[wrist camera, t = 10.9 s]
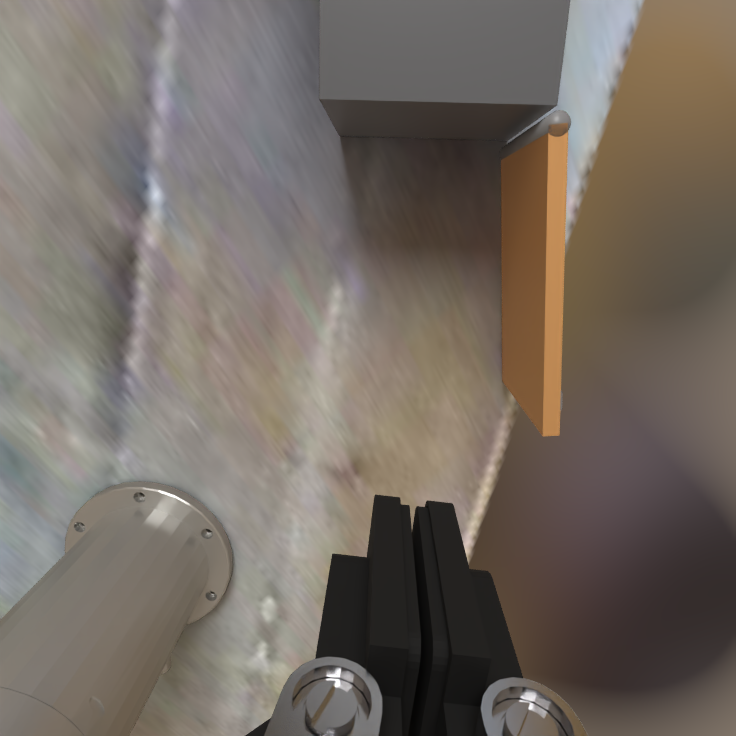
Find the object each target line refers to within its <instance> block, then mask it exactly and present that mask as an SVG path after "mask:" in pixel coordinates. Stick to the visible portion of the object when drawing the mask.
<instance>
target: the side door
mask: <svg viewBox="0 0 736 736" xmlns="http://www.w3.org/2000/svg"><path fill="white" fill-rule="evenodd" d="M570 125H571V119H570V116H569V115H568V114H567V113H566V112H565V111H561V110H558V111H555V112H553V113H552V114H550V115H549V116H547V117H546V118H544V119H543V120H541V121H540V122H538V123H537V124H536V125H534V126H533V127H531V128H530V129H528V130H527V131H525V132H524V133H523V134H521V135H520V136H518V137H517V138H515V139H514V140H512V141H511V142H509V143H508V144H507V145H505V146H504V147H502V149H501V150H500V153H499V157H500V159H501V237H502V381H503V383H504V384H505V385H506V387H507V388H508V389H509V391H510V392H511V394H512V395H513V396H514V398H515V399H516V400H517V402H518V403H519V404H520V406H521V407H522V409H523V410H524V411H525V413H526V414H527V415H528V417H529V418H530V419H531V421H532V422H533V424H534V425H535V426H536V428H537V429H538V430H539V432H540V433H541V434H542V436H556V435H559V433H560V410H562V393H563V392H562V391H561V363H562V362H561V361H562V328H563V292H564V257H565V222H566V187H567V152H568V130H569V128H570Z"/></svg>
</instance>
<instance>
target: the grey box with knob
mask: <svg viewBox="0 0 736 736" xmlns="http://www.w3.org/2000/svg"><path fill="white" fill-rule="evenodd" d="M569 6H570V0H320V40H319V99H320V101H321V103H322V105H323V107H324V109H325V110H326V112H327V114H328V116H329V118H330V120H331V121H332V123H333V125H334V127H335V129H336V131H337V132H338V134H339V136H356V137H392V138H427V139H463V140H499V141H508V140H509V139H511V138H512V137H513V136H515V135H516V134H518V133H519V132H520V131H522V130H523V129H525V128H526V127H527V126H529V125H530V124H532V123H533V122H534V121H536V120H537V119H538V118H540V117H541V116H543V115H544V114H545V113H547V112H548V111H550V110H551V109H552V108H554V107H555V106H557V102H558V94H559V86H560V78H561V70H562V62H563V54H564V46H565V38H566V30H567V22H568V14H569Z"/></svg>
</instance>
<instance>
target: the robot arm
mask: <svg viewBox="0 0 736 736" xmlns="http://www.w3.org/2000/svg"><path fill="white" fill-rule="evenodd" d="M232 568H233V558H232V550H231V546H230V542H229V539H228V537H227V535H226V533H225V531H224V529H223V527H222V525H221V524H220V522H219V521H218V520H217V519H216V517H215V516H214V515H213V513H212V512H211V511H209V510H208V509H207V508H206V507H205V506H204V505H203V504H202V503H201V502H199V501H198V500H196V499H195V498H193V497H192V496H190V495H189V494H187V493H185V492H182V491H180V490H178V489H176V488H173V487H170V486H167V485H163V484H159V483H153V482H142V481H138V482H126V483H121V484H118V485H114V486H111V487H108V488H106V489H105V490H103V491H101V492H99V493H97V494H96V495H95V496H93V497H92V498H91V499H90V500H88V501H87V502H86V503H85V504H84V505H83V506H82V507H81V508H80V509H79V510H78V511H77V512H76V514H75V515H74V517H73V518H72V520H71V522H70V524H69V527H68V530H67V533H66V537H65V555H64V556H63V557H62V558H61V559H60V560H59V561H58V562H57V563H56V564H55V565H54V566H53V567H52V568H51V569H50V570H49V571H48V572H47V573H46V574H45V575H44V576H43V577H42V578H41V579H40V580H39V581H38V582H37V583H36V584H35V585H34V586H33V587H32V588H31V589H30V590H29V591H28V592H27V593H26V594H25V595H24V596H23V597H22V598H21V599H20V600H19V601H18V602H17V603H16V604H15V605H14V606H13V608H12V609H11V610H10V611H9V612H8V613H7V614H6V615H5V616H4V617H3V618H2V619H1V620H0V736H129V735H130V733H131V731H132V729H133V728H134V726H135V724H136V722H137V720H138V718H139V716H140V714H141V712H142V710H143V708H144V706H145V704H146V702H147V700H148V698H149V696H150V694H151V692H152V690H153V688H154V686H155V684H156V682H157V680H158V678H159V676H160V675H161V674H164V673H166V672H168V670H169V669H170V668H171V653H172V651H173V649H174V647H175V645H176V643H177V641H178V639H179V637H180V635H181V633H182V631H183V629H184V627H185V626H186V625H188V624H191V623H193V622H195V621H198V620H200V619H201V618H202V617H204V616H205V615H207V614H208V613H210V612H211V611H212V610H213V608H214V607H215V606H216V605H217V604H218V603H219V602H220V600H221V598H222V596H223V595H224V593H225V591H226V589H227V586H228V584H229V581H230V579H231V574H232ZM246 736H588V734H587V733H586V731H585V729H584V727H583V725H582V723H581V722H580V720H579V718H578V717H577V716H576V714H575V713H574V711H573V710H572V708H571V707H570V706H569V705H568V704H567V703H566V702H565V701H564V700H563V699H562V698H561V697H560V696H558V695H557V694H556V693H555V692H553V691H551V690H550V689H548V688H547V687H545V686H543V685H542V684H539V683H536V682H534V681H531V680H528V679H523V676H522V673H521V669H520V666H519V663H518V660H517V657H516V654H515V650H514V647H513V644H512V640H511V637H510V634H509V631H508V627H507V624H506V621H505V618H504V614H503V611H502V608H501V605H500V601H499V598H498V595H497V592H496V588H495V585H494V582H493V579H492V576H491V574H490V573H489V572H488V571H481V570H473V569H469V565H468V561H467V557H466V553H465V549H464V545H463V541H462V537H461V533H460V529H459V525H458V521H457V517H456V513H455V509H454V506H453V504H452V503H444V502H435V501H427V502H426V504H425V507H419V506H417V507H416V510H415V516H414V523H413V530H412V529H411V518H410V507H409V505H401V504H400V497H391V496H382V495H375V497H374V504H373V512H372V520H371V528H370V536H369V544H368V552H367V557H358V556H349V555H341V554H332V559H331V565H330V571H329V577H328V584H327V590H326V596H325V602H324V608H323V614H322V621H321V627H320V633H319V639H318V645H317V651H316V658H315V659H313V660H311V661H309V662H307V663H305V664H303V665H301V666H300V667H299V668H298V669H297V670H295V671H294V672H293V673H292V674H291V675H290V677H289V678H288V680H287V682H286V683H285V685H284V687H283V689H282V692H281V694H280V697H279V699H278V702H277V704H276V707H275V709H274V712H273V714H272V717H271V718H270V719H269V720H267V721H266V722H264V723H263V724H262V725H260V726H259V727H257V728H256V729H254V730H253V731H251V732H250V733H248V734H247V735H246Z"/></svg>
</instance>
